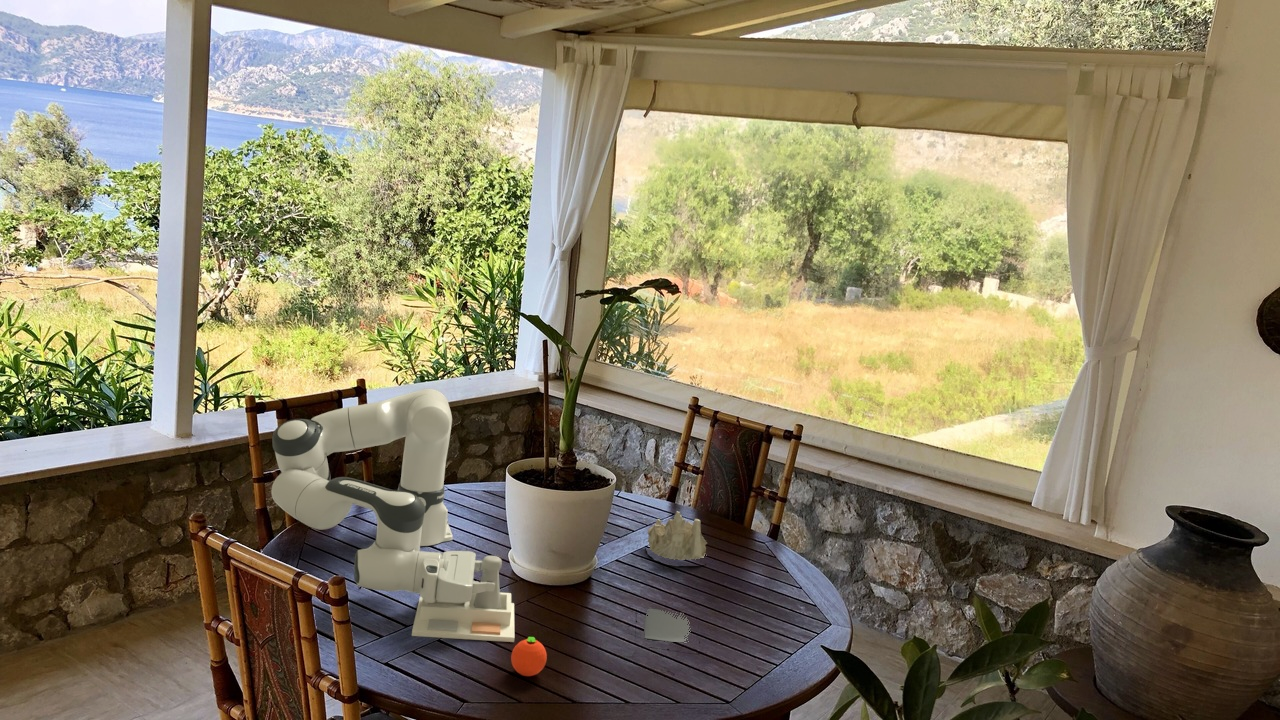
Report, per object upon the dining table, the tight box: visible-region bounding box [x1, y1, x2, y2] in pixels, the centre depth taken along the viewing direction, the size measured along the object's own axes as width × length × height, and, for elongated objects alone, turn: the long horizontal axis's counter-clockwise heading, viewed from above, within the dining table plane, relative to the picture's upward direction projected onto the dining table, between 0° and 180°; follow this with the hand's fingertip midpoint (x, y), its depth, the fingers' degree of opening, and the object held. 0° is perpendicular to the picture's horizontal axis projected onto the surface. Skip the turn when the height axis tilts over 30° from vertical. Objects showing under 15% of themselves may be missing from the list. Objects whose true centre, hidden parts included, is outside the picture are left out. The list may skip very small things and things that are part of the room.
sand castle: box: [646, 510, 708, 560], centre depth 254 cm, size 16×16×15 cm
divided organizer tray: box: [411, 591, 515, 643], centre depth 197 cm, size 17×21×4 cm
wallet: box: [644, 608, 691, 643], centre depth 207 cm, size 20×2×15 cm
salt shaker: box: [474, 555, 503, 610], centre depth 199 cm, size 6×6×13 cm
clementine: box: [510, 636, 548, 677], centre depth 179 cm, size 8×7×7 cm
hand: (495, 577), depth 199 cm, fingers open, 8 cm apart
